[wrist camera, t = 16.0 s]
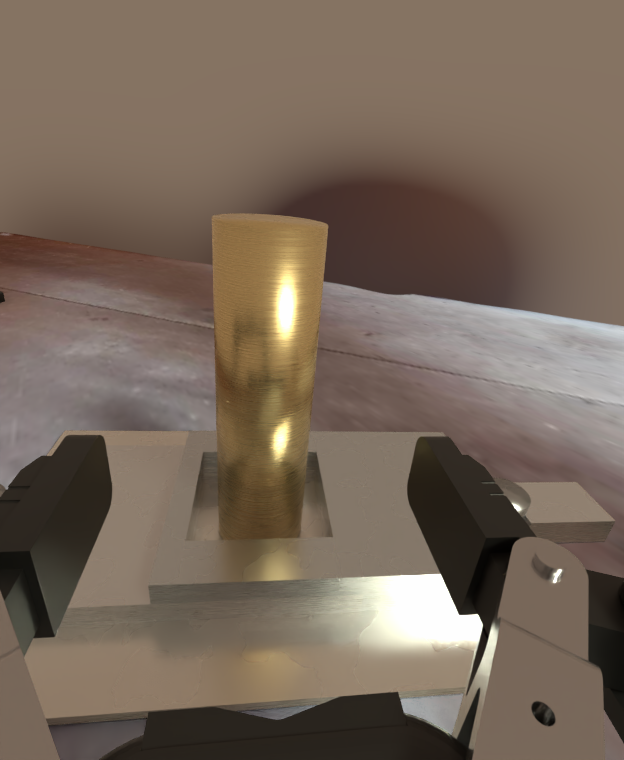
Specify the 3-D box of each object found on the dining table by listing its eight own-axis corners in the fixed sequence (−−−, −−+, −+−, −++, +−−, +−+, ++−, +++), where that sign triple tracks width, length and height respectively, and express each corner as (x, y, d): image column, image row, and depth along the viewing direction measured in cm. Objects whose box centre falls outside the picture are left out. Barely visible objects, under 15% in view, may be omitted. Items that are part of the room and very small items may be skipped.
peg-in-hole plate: (-389, 759, 12) (-450, 711, 11) (-36, 435, 26) (-48, 400, 25) (725, 673, 17) (758, 632, 16) (510, 437, 31) (520, 408, 30)
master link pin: (201, 535, 20) (186, 217, 14) (246, 486, 23) (251, 211, 17) (277, 568, 19) (297, 233, 13) (313, 511, 22) (344, 223, 16)
